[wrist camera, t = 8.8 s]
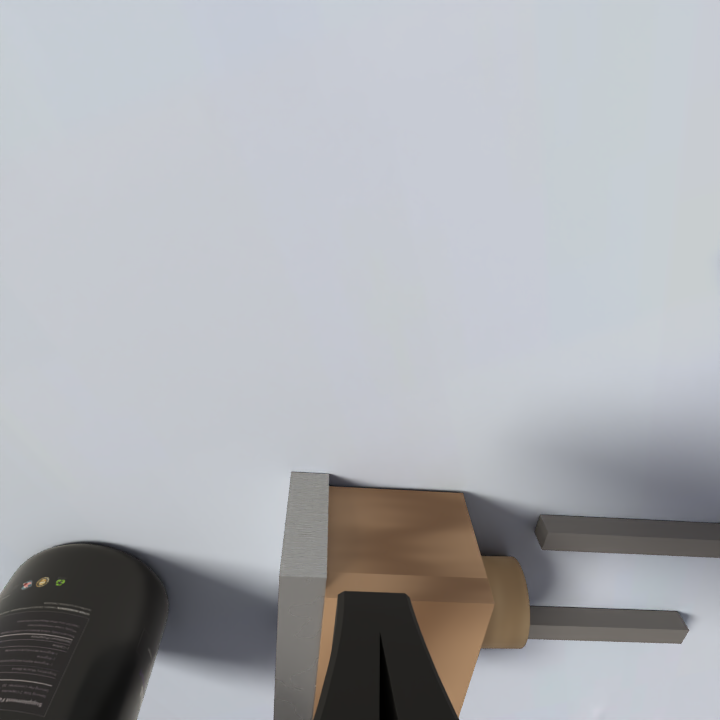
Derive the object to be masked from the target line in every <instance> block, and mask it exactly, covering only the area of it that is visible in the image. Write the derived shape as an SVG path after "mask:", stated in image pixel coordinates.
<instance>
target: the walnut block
mask: <svg viewBox="0 0 720 720" xmlns="http://www.w3.org/2000/svg"><path fill="white" fill-rule="evenodd" d="M343 591H361V592H388V593H406V594H407V595H408V596H409V597H410V600H411V603H412V607H413V610H414V613H415V616H416V619H417V622H418V624H419V627H420V630H421V633H422V635H423V638H424V641H425V643H426V646H427V648H428V651H429V653H430V656H431V658H432V661H433V663H434V665H435V668H436V670H437V672H438V675H439V677H440V679H441V682H442V684H443V686H444V688H445V690H446V692H447V695H448V697H449V699H450V701H451V703H452V705H453V708H454V710H455V712H456V714H457V716H458V717H459V714H460V711H461V708H462V705H463V702H464V699H465V696H466V692H467V689H468V686H469V683H470V680H471V677H472V674H473V671H474V667H475V664H476V661H477V658H478V655H479V652H480V649H481V646H482V642H483V639H484V636H485V633H486V630H487V627H488V624H489V621H490V617H491V614H492V611H493V608H494V605H495V603H494V599H493V596H492V592H491V589H490V585H489V582H488V578H487V575H486V571H485V568H484V565H483V561H482V558H481V554H480V551H479V547H478V544H477V540H476V537H475V533H474V530H473V526H472V523H471V520H470V516H469V513H468V509H467V506H466V502H465V499H464V495H463V493H449V492H430V491H411V490H391V489H372V488H353V487H333V486H329V501H328V544H327V580H326V590H325V600H324V610H323V620H322V630H321V640H320V650H319V660H318V670H317V681H316V691H315V701H314V711H313V719H314V716H315V713H316V709H317V706H318V702H319V699H320V695H321V691H322V687H323V683H324V680H325V676H326V672H327V668H328V664H329V660H330V655H331V650H332V641H333V632H334V624H335V615H336V606H337V598H338V594H340V593H341V592H343Z"/></svg>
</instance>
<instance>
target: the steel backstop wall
mask: <svg viewBox="0 0 720 720" xmlns="http://www.w3.org/2000/svg"><path fill="white" fill-rule="evenodd" d="M328 501H329V474H319V473H300V472H291V479H290V488H289V496H288V505H287V514H286V522H285V531H284V539H283V548H282V557H281V565H280V574H279V595H278V620H277V646H276V671H275V696H274V720H313V711H314V701H315V691H316V681H317V670H318V660H319V650H320V640H321V630H322V620H323V610H324V600H325V590H326V580H327V544H328Z"/></svg>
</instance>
